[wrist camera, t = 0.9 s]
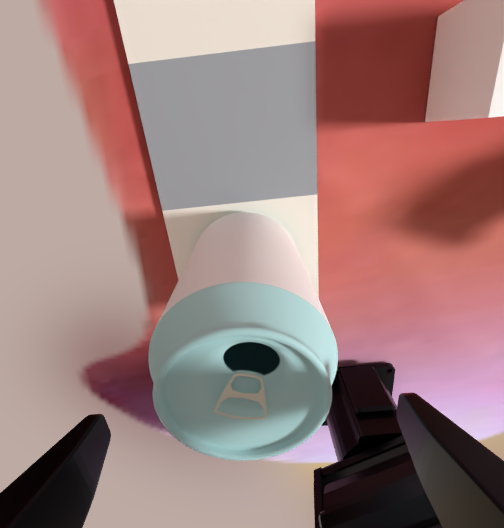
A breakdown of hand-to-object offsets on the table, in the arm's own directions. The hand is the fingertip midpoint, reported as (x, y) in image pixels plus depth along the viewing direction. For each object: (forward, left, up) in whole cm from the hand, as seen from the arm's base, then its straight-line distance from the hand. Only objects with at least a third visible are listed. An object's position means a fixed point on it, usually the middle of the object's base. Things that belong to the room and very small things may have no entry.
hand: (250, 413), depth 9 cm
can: (0, 0, -13) cm, 13 cm away
